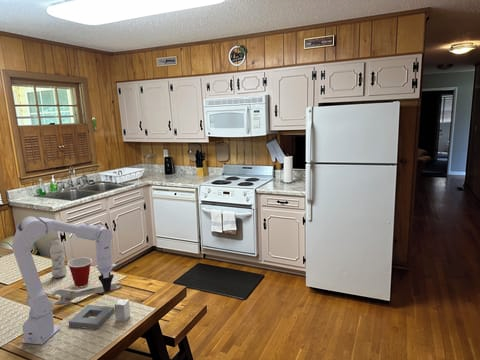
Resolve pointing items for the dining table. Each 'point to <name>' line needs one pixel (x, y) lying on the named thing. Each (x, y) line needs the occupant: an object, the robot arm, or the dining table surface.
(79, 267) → the plastic cup
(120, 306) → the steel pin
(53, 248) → the plastic bottle
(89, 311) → the socket block
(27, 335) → the robot arm
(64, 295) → the wrench
